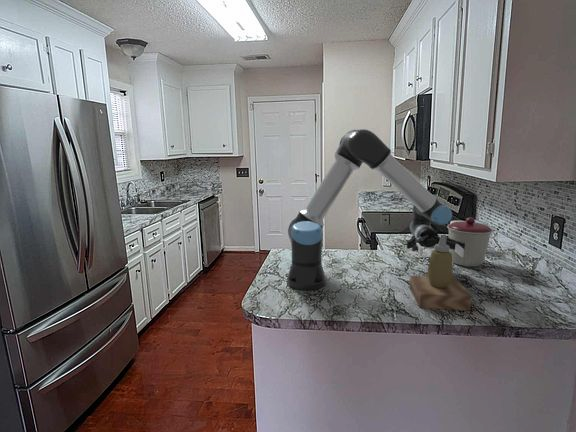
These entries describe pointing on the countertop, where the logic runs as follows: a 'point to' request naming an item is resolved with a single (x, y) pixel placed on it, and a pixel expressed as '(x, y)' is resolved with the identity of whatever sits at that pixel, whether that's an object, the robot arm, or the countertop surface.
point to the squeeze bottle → (440, 265)
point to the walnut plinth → (440, 294)
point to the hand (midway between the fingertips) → (441, 252)
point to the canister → (470, 241)
